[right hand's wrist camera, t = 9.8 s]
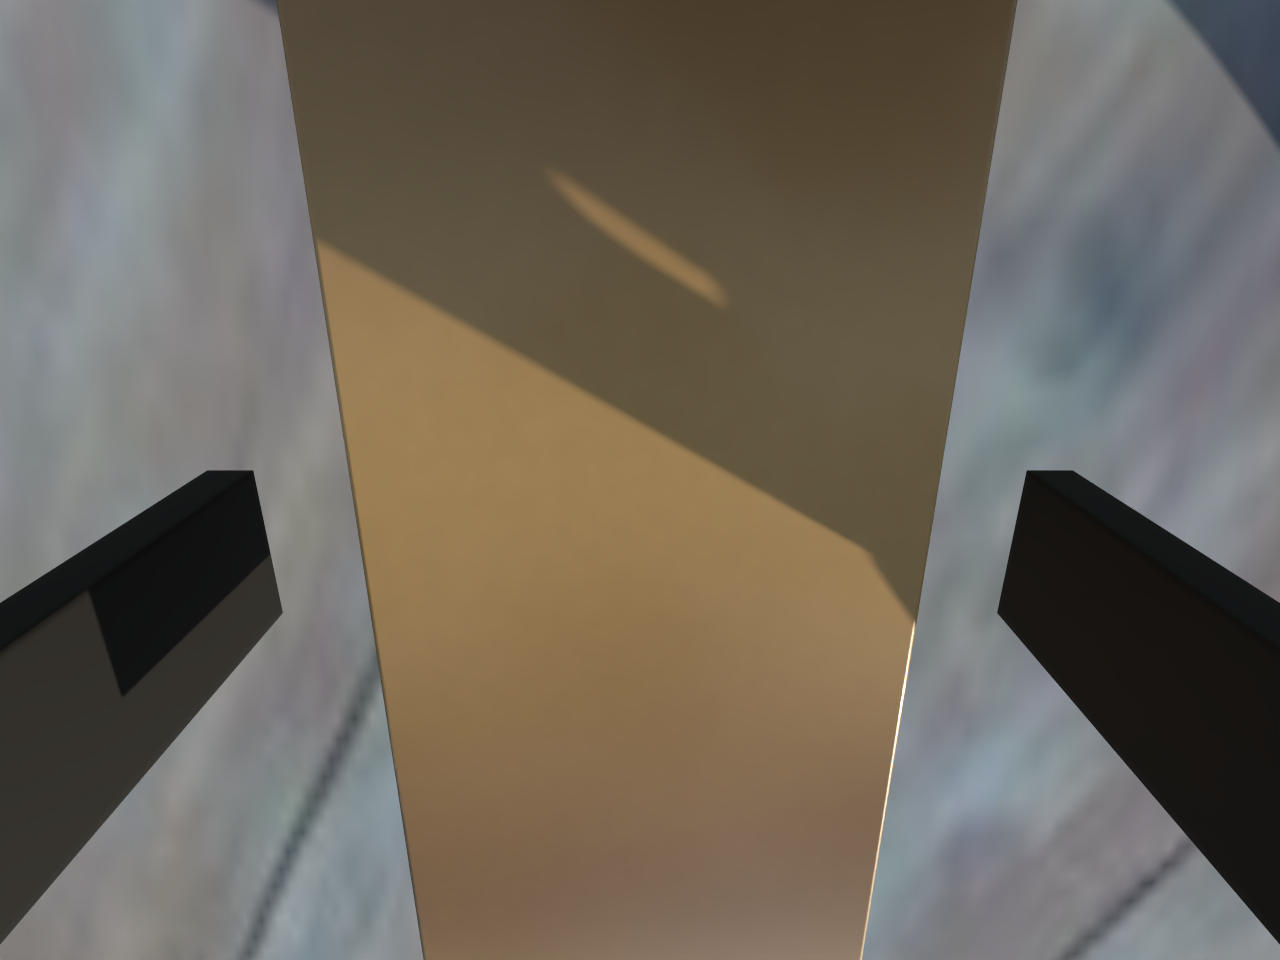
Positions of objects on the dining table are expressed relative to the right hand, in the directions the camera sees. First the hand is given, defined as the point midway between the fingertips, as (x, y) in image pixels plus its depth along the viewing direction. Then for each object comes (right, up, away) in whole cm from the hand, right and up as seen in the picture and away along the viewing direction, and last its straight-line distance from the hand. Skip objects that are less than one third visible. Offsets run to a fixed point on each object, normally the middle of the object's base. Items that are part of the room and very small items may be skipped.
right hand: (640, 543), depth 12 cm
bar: (0, +8, 0) cm, 8 cm away
